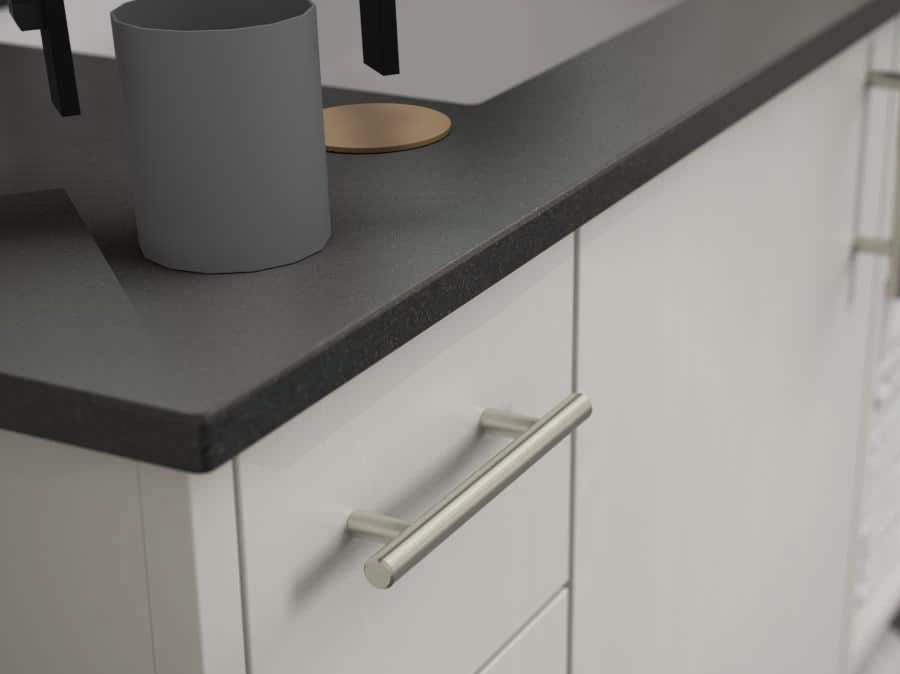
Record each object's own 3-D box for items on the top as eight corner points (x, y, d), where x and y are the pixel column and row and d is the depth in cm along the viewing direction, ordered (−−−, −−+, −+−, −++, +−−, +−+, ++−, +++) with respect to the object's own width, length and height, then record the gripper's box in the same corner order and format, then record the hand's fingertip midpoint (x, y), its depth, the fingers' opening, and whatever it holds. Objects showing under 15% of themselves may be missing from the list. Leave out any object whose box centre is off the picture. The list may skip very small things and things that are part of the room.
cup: (102, 260, 70) (70, 23, 66) (197, 201, 77) (174, -17, 72) (278, 282, 68) (258, 37, 63) (361, 219, 75) (348, -6, 70)
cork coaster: (316, 161, 83) (316, 155, 82) (270, 119, 90) (270, 114, 89) (475, 140, 85) (475, 135, 85) (418, 101, 92) (418, 96, 92)
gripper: (-199, -507, 52) (-69, 150, 62) (524, -511, 60) (535, 71, 70) (-206, -491, 58) (-87, 104, 68) (450, -496, 66) (470, 36, 76)
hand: (228, 88), depth 69 cm, fingers open, 13 cm apart
